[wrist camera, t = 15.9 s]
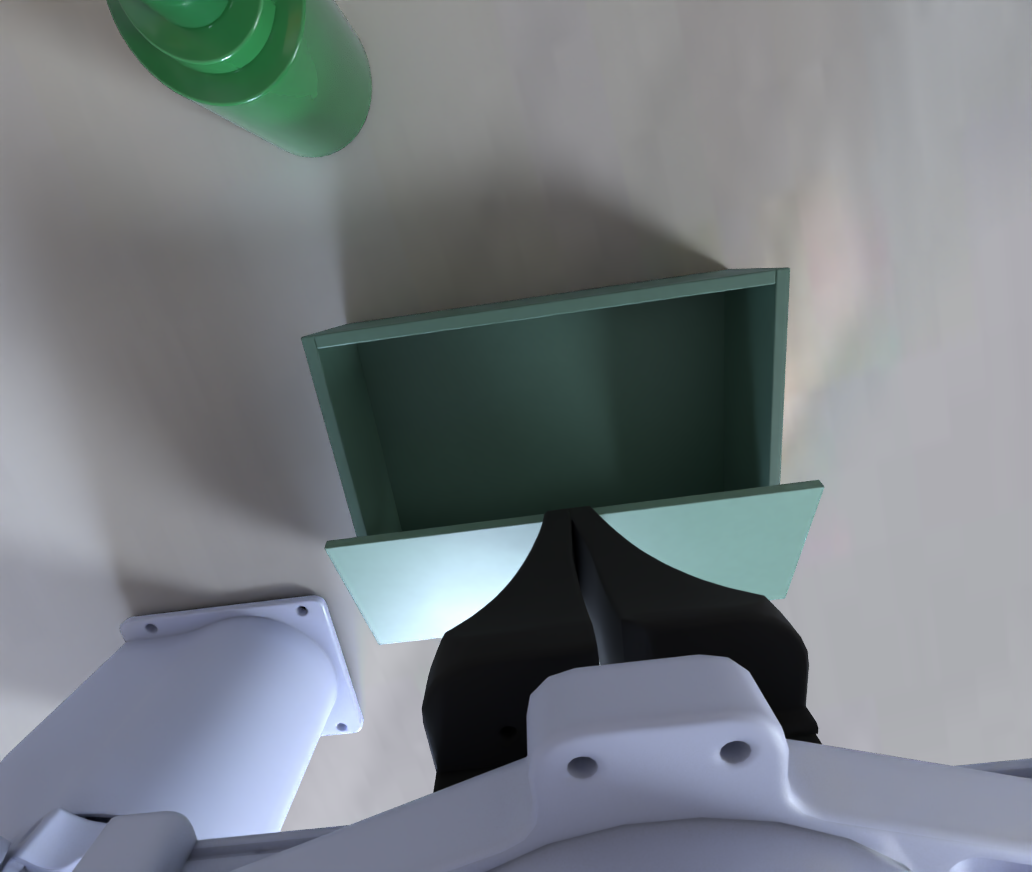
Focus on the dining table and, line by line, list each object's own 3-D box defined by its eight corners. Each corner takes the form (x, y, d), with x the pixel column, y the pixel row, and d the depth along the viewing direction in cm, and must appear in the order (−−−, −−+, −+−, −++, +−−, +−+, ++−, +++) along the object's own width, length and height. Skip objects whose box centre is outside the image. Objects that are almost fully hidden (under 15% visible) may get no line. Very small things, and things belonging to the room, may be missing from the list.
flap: (780, 591, 16) (785, 598, 16) (380, 637, 17) (378, 645, 17) (818, 479, 13) (825, 486, 13) (326, 540, 14) (323, 548, 14)
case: (729, 530, 21) (776, 586, 17) (405, 569, 21) (382, 631, 17) (731, 268, 17) (790, 267, 13) (344, 324, 18) (300, 337, 14)
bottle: (258, 167, 16) (77, 91, 9) (214, 7, 15) (-36, -215, 8) (385, 147, 16) (293, 55, 9) (353, -17, 14) (216, -264, 8)
